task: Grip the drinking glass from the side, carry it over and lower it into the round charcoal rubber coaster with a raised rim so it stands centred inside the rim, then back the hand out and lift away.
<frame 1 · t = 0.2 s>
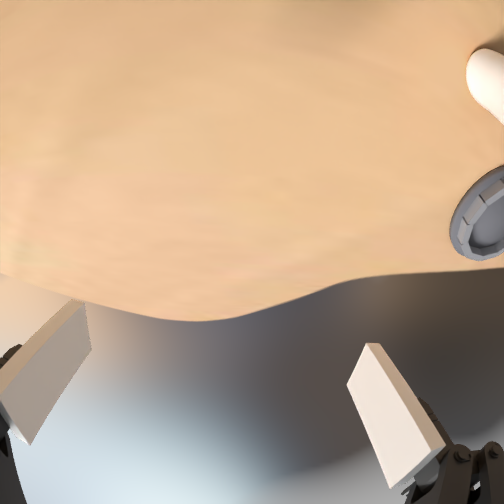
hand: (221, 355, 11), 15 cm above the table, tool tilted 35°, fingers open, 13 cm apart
coaster: (494, 213, 21), on the table
drinking glass: (484, 75, 11), on the table
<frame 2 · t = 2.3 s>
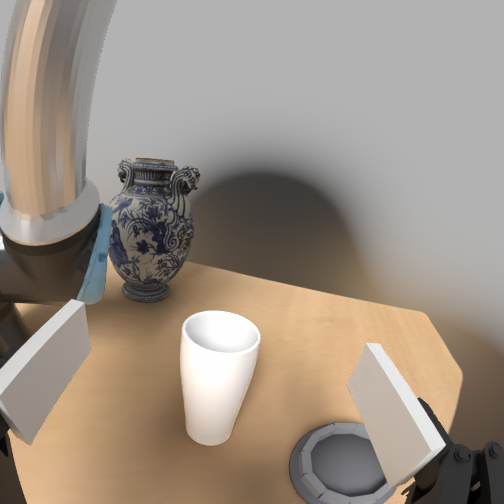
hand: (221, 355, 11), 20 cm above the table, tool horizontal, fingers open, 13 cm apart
decorative vase: (145, 291, 56), on the table
coaster: (347, 468, 22), on the table
drinking glass: (208, 431, 26), on the table
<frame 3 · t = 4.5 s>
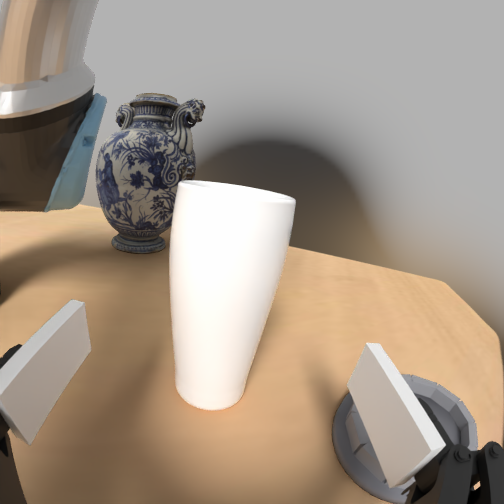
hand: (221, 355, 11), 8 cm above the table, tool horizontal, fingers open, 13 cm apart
decorative vase: (137, 245, 49), on the table
coaster: (409, 436, 15), on the table
drinking glass: (208, 390, 19), on the table
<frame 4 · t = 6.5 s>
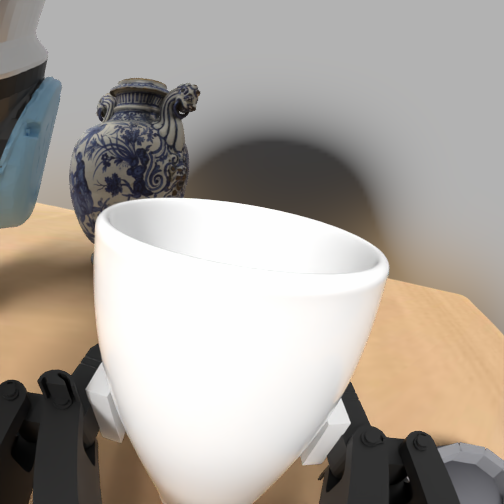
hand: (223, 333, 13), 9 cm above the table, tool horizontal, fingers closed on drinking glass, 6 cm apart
decorative vase: (121, 261, 40), on the table
drinking glass: (205, 492, 10), on the table, touching gripper
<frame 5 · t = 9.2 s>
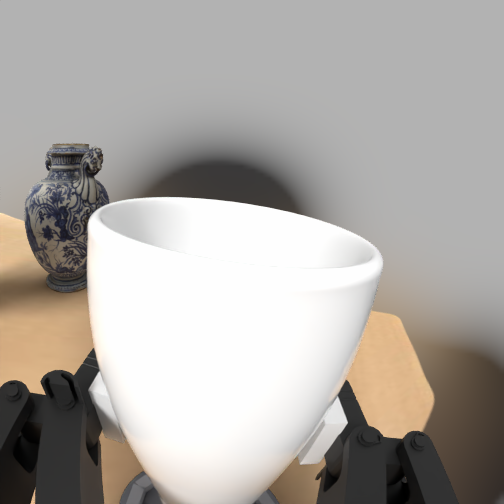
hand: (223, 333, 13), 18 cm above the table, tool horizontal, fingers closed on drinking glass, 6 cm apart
decorative vase: (68, 281, 47), on the table
drinking glass: (205, 493, 10), point 10 cm above the table, touching gripper
when the fingers open (10 cm above the table, at t = 11.4 s): drinking glass stays where it is, resting on coaster.
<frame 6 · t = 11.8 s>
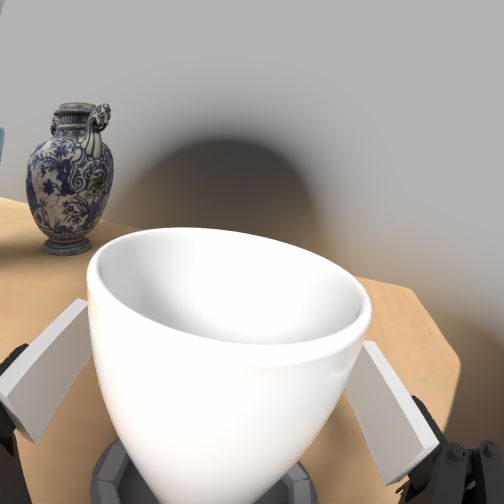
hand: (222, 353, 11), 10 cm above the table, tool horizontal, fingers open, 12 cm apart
decorative vase: (66, 247, 45), on the table
coaster: (204, 499, 11), on the table
drinking glass: (201, 498, 11), point 1 cm above the table, touching coaster
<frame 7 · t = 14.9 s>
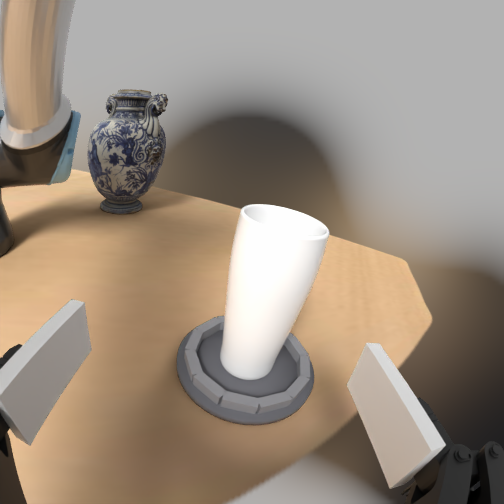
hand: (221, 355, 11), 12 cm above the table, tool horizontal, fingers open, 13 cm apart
decorative vase: (120, 207, 60), on the table
coaster: (246, 367, 26), on the table
drinking glass: (245, 363, 26), point 1 cm above the table, touching coaster
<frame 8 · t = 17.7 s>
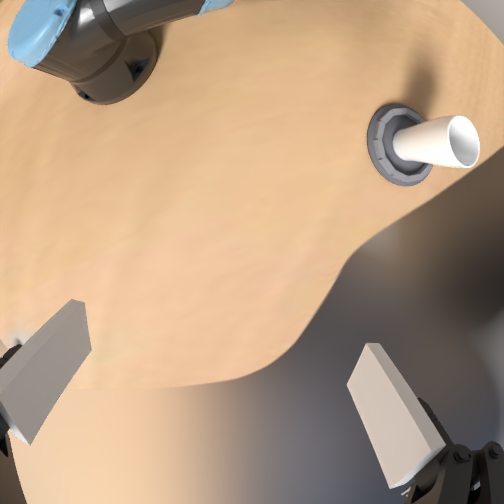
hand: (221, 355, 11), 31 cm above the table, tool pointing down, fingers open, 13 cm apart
coaster: (402, 145, 37), on the table
drinking glass: (403, 145, 37), point 1 cm above the table, touching coaster
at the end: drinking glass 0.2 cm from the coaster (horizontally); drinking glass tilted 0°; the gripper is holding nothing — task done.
